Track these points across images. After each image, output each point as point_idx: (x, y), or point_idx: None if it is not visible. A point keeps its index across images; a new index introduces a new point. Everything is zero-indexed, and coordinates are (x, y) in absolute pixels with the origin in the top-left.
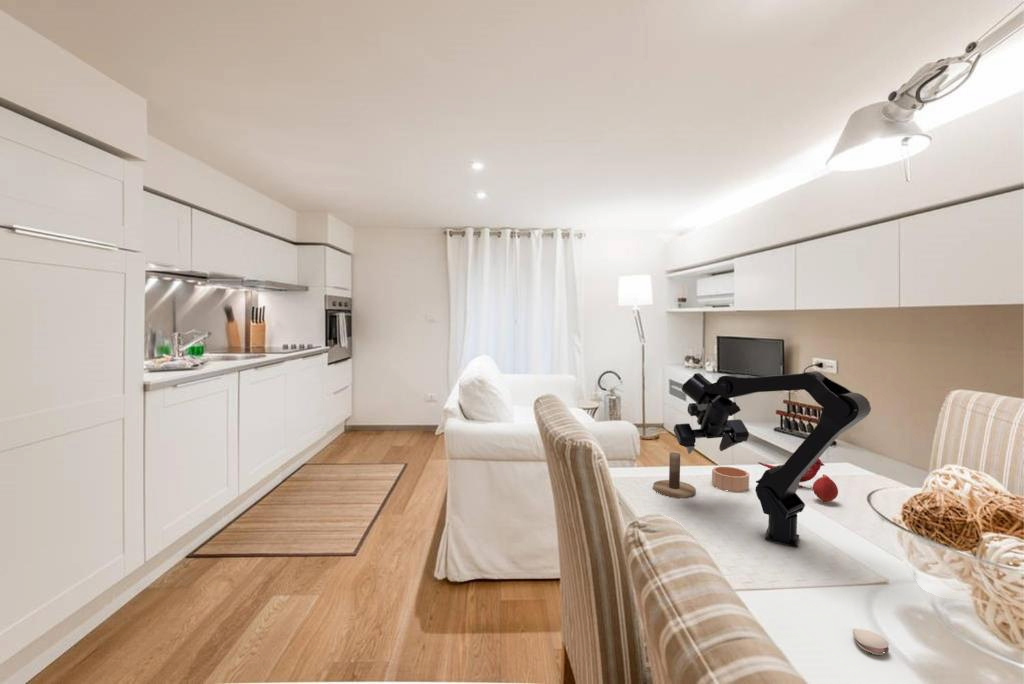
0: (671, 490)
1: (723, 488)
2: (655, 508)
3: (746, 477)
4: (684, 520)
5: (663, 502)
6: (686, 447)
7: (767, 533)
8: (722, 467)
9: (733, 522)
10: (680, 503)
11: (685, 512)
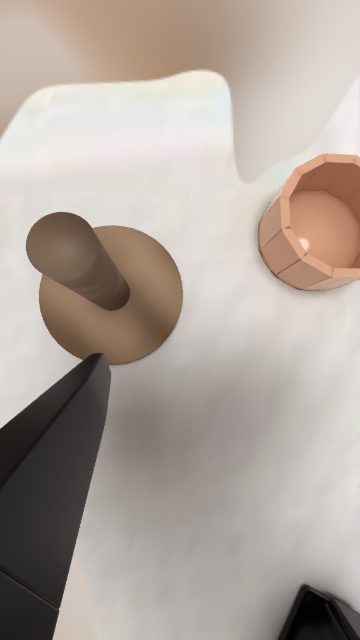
0: (92, 327)
1: (279, 276)
2: None
3: None
4: None
5: None
6: (59, 384)
7: (289, 637)
8: (328, 163)
9: (221, 540)
10: None
11: (96, 482)
